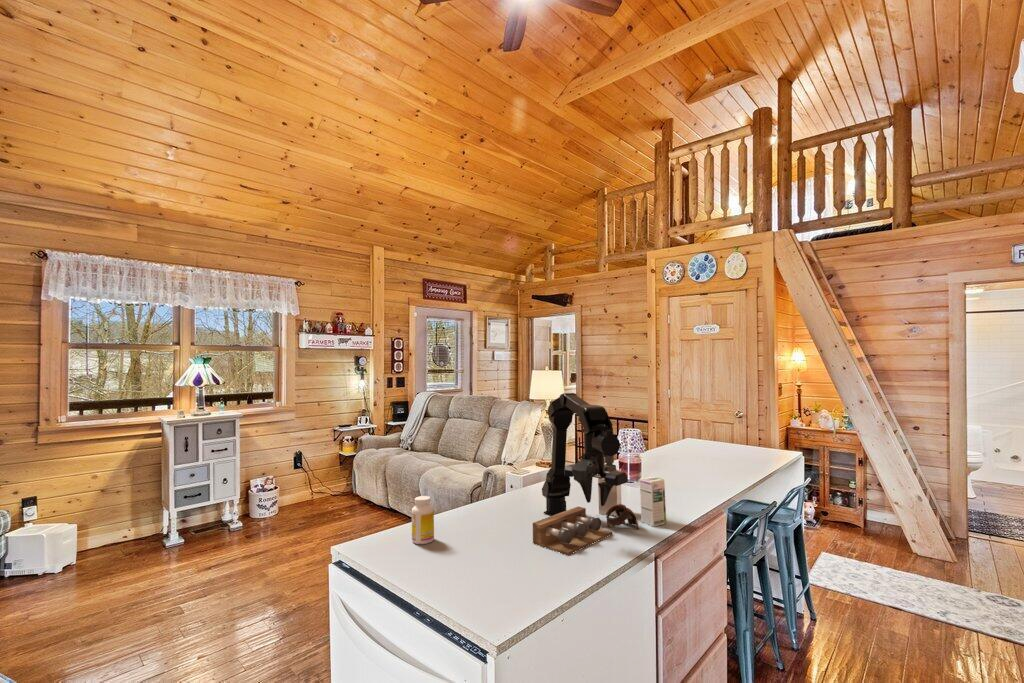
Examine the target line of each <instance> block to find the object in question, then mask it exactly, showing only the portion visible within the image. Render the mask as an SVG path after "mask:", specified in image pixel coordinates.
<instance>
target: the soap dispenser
mask: <svg viewBox="0 0 1024 683" xmlns="http://www.w3.org/2000/svg"><path fill="white" fill-rule="evenodd" d="M614 456H615V455H614ZM614 456H607V457H604V460H605V467H607V471H605V472H606V473H609V472H612V471H620V472H622V471H621V469H617V465H616V464H614V462H615V460H614V458H615V457H614ZM597 475H599V474H597ZM597 482H598V483H601V482H602V479H601V478H597ZM598 483H597V485H598ZM597 487H598V514H599V515H602V514H606V513H607V511H608V510H609V509H610V508H611V507H613V506H615V505H618V504H622V484H621V485H618V486H614V485H613V487H612V489H611V491H610V493H609V495H608V498H607V500H606V503H605V505H604V506H601V499H600V487H599V485H598V486H597ZM610 515H614V516H613V517H618V515H617V514H616V512H615V511H614V512H612V513H611V514H610ZM605 516H607V514H606V515H605Z"/></svg>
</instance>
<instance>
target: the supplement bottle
mask: <svg viewBox="0 0 1024 683" xmlns="http://www.w3.org/2000/svg"><path fill="white" fill-rule="evenodd" d="M430 503H431V497H430V496H429V495H420V496H417V497H415V498H414V504H415V505H414V506H413V507H412V509H411V540H412V542H413V544H417V545H426V544H430V543H432V542H433V541H434V539H435V521H434V520H435V519H434V518H435V517H434V515H435V514H434V511H435V510H434V507H433V506H432V504H430Z"/></svg>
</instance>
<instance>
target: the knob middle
mask: <svg viewBox="0 0 1024 683" xmlns="http://www.w3.org/2000/svg"><path fill="white" fill-rule="evenodd" d="M561 526H562V527H563V528H567V529H570V530H573V531H574V534H575V535H578V536H581V537H584V536H586V534H587V530H588V527H587V524H585V523H581V522H576V523H575V524H572V523H568V522H565V521H562V523H561Z"/></svg>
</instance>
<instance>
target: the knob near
mask: <svg viewBox="0 0 1024 683" xmlns="http://www.w3.org/2000/svg"><path fill="white" fill-rule="evenodd" d="M546 532H547V533H548V534H551V535H555V536H558V538H559V540H560V541H561V542H564V543H567V544H569V543H570V542H571V541H572V539H573V532H572V530H570V529H566V528H561V529H560V530H557V529H554V528H551V527H547V529H546Z"/></svg>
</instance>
